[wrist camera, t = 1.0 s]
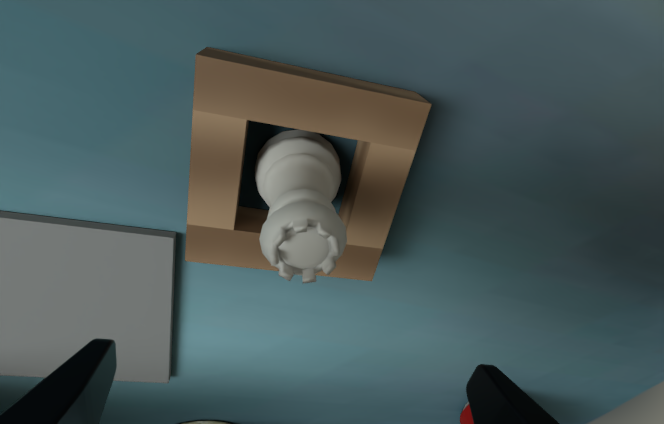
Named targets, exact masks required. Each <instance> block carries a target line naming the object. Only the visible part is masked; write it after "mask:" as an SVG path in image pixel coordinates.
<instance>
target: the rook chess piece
mask: <svg viewBox="0 0 664 424" xmlns="http://www.w3.org/2000/svg"><path fill="white" fill-rule="evenodd" d="M255 179H256V184H257V188H258V192H259V194H260V195H261V196H262V198H263V199H264V201H265V202H266V203H267V205H268V206H269V207H270V209H269V213H268V217H267V220H266V221H265V223H264V224H263V226H262V230H261V234H260V238H259V240H260V245H261V249H262V253H263V255H264V256H265V257H266V258H267V260H268V261H269V262H270V263H271V266H275V267H277V268H278V269H279V276H281V277H283V278H285V279H287V280H288V281H290V280H291V279H292V277H293V274H296V275H302V276H303V283H309V282H316V275H315V274H316V273H318V272H320V271H322V270H323V272H324V273H326V274H327V275H329V274H330V273H331V272H332V271H333V270H334V269H335V268H336V260H337V259H338V258H339V257H340V256H341V255H342V253H343V251H344V248H345V245H346V243H347V235H346V226H345V225H344V223H343V222H342V220H341V218H340V217H339V215H338V214H337V213H336V211H335V208H334V206H333V205H332V203H331V202H332V200H333V199H334V198H335V197H336V194H337V191H338V188H339V185H340V182H341V171H340V162H339V157H338V155H337V153H336V151H335V150H334V148H333V146H332V144H331V143H330V142H328V141H327V140H326V139H324V138H323V137H322V136H320V135H319V134H317V133H314V132H310V131H305V130H300V129H298V130H290V131H283V132H281V133H279V134H278V135H276V136H274V137H272V138H271V139H269V140H268V141H267V142H266V143H265V145H264V146H263V147H262V149H261V150H260V151H259V153H258V156H257V160H256V165H255Z"/></svg>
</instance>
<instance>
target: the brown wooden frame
mask: <svg viewBox="0 0 664 424" xmlns="http://www.w3.org/2000/svg"><path fill="white" fill-rule="evenodd" d="M431 105H432V104H431V103H429V102H428V101H427V100H425V99H424V98H423V97H421V96H420V95H419V94H417V93H416V92H414V91H409V90H404V89H400V88H395V87H390V86H386V85H381V84H376V83H372V82H367V81H362V80H358V79H353V78H349V77H344V76H339V75H335V74H330V73H325V72H321V71H316V70H311V69H307V68H302V67H297V66H293V65H288V64H284V63H279V62H274V61H270V60H265V59H260V58H256V57H251V56H246V55H242V54H237V53H233V52H228V51H223V50H219V49H214V48H209V47H206V48H205V49H203V50H202V51H200V52H199V53H197V54H196V62H195V80H194V99H193V118H192V137H191V156H190V175H189V194H188V213H187V232H186V251H185V261H190V262H200V263H209V264H218V265H227V266H237V267H246V268H255V269H264V270H274V271H279V269H278V268H277V267H275V266H271V263H270V262H269V261H268V260H267V258H266V257H265V256H264V255H263V253H262V249H261V245H260V240H259V238H260V234H261V230H262V226H263V224H264V223H265V221H266V220H267V217H268V213H269V210H263V209H256V208H249V207H242V206H239V199H240V191H241V182H242V174H243V166H244V158H245V150H246V141H247V133H248V125H249V120H250V121H256V122H261V123H267V124H272V125H278V126H283V127H289V128H294V129H300V130H305V131H311V132H316V133H322V134H327V135H332V136H338V137H343V138H349V139H354V140H358V142H357V146H356V150H355V154H354V157H353V161H352V165H351V169H350V173H349V177H348V180H347V184H346V188H345V192H344V196H343V200H342V203H341V207H340V211H339V217H340V218H341V220H342V222H343V223H344V225H345V226H346V235H347V243H346V245H345V248H344V251H343V253H342V255H341V256H340V257H339V258H338V259H337V260H336V268H335V269H334V270H333V271H332V272H331V273H330V274H329V275H327V274H326V273H324V272H323V270H322V271H320V272H318V273H316V274H315V275H320V276H329V277H338V278H348V279H357V280H366V281H372V279H373V276H374V273H375V270H376V267H377V265H378V262H379V259H380V256H381V253H382V250H383V247H384V244H385V241H386V238H387V235H388V232H389V229H390V226H391V223H392V220H393V217H394V214H395V211H396V208H397V205H398V202H399V199H400V196H401V193H402V190H403V188H404V185H405V182H406V179H407V176H408V173H409V170H410V167H411V164H412V161H413V158H414V155H415V152H416V149H417V146H418V143H419V140H420V137H421V134H422V131H423V128H424V125H425V122H426V119H427V116H428V114H429V111H430V108H431Z"/></svg>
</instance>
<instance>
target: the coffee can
mask: <svg viewBox="0 0 664 424" xmlns="http://www.w3.org/2000/svg"><path fill="white" fill-rule="evenodd" d="M181 424H231V423H227V422H219V421H193V422H186V423H181Z"/></svg>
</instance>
